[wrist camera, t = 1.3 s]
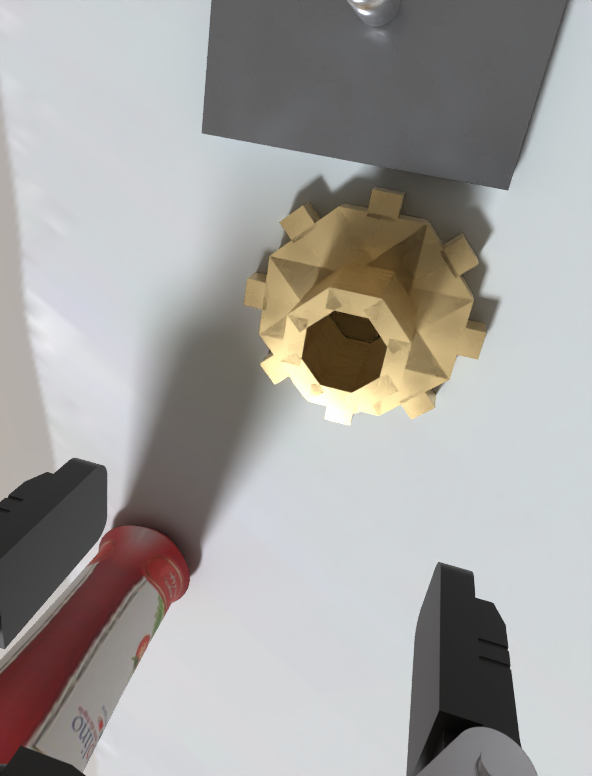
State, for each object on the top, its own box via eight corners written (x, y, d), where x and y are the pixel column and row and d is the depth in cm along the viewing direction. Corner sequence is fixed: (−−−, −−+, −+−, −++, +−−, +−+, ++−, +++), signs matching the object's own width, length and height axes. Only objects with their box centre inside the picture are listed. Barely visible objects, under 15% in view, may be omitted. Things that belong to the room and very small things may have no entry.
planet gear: (520, 214, 25) (541, 237, 20) (447, 437, 31) (447, 506, 25) (269, 166, 27) (221, 174, 21) (241, 384, 33) (197, 437, 27)
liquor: (195, 605, 41) (-190, 1325, 16) (105, 576, 42) (-386, 1207, 17) (204, 528, 38) (-261, 1280, 13) (106, 498, 39) (-497, 1139, 14)
